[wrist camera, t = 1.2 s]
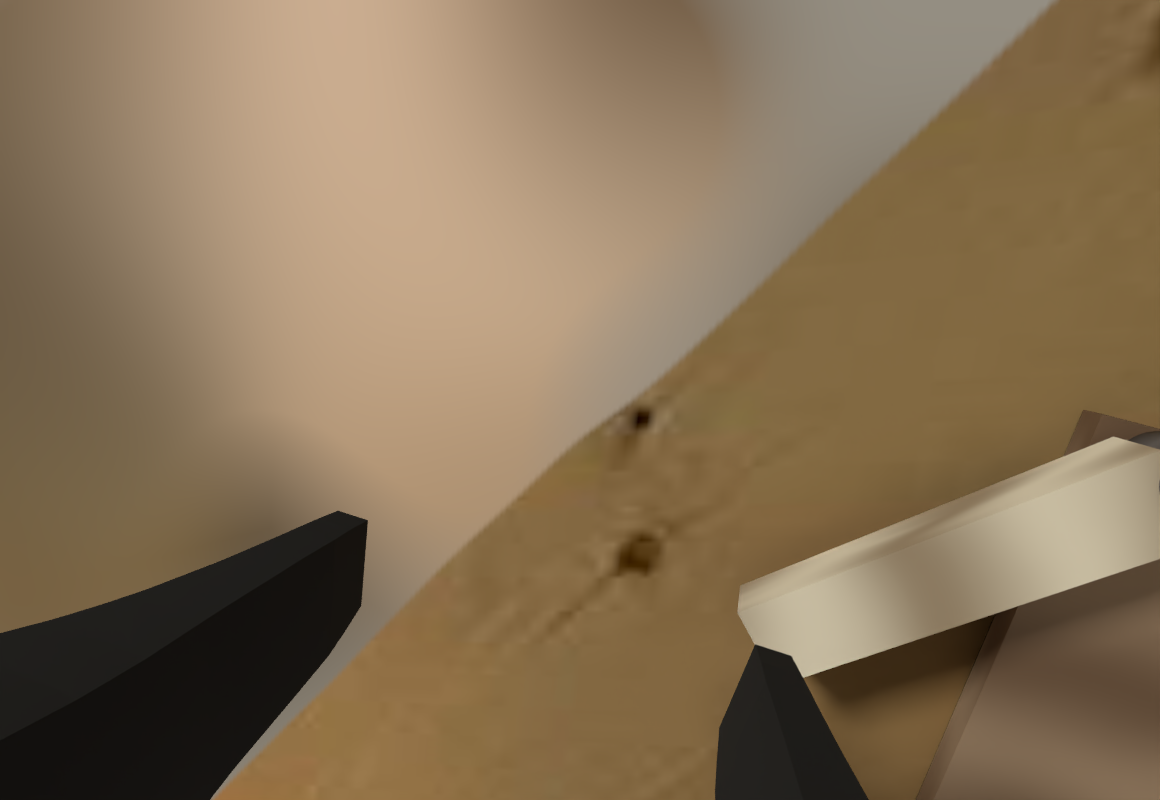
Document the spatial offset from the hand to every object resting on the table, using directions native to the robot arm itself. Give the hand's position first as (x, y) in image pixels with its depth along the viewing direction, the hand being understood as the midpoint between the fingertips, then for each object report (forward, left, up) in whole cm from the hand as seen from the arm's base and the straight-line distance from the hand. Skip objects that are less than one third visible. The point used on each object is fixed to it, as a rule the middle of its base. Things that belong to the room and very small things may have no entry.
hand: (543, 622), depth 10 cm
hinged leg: (+2, -9, -10) cm, 13 cm away
